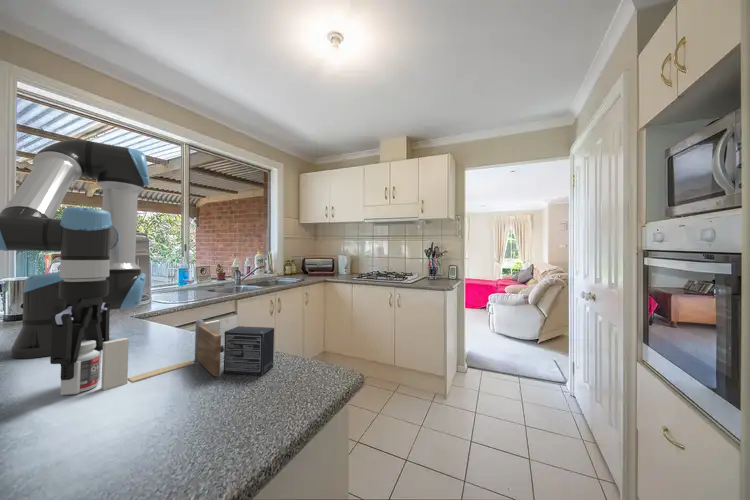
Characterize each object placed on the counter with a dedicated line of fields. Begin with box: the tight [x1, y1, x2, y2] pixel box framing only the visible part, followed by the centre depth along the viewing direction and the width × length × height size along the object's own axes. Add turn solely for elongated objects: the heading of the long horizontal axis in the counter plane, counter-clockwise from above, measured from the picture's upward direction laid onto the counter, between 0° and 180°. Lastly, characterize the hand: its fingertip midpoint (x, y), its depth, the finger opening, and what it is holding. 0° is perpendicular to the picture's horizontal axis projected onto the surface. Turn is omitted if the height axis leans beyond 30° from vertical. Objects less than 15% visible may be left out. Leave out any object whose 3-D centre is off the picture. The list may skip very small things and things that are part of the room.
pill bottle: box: [77, 340, 100, 393], centre depth 60 cm, size 5×5×10 cm
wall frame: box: [100, 319, 221, 391], centre depth 71 cm, size 3×25×11 cm, turn 149°
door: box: [198, 325, 224, 377], centre depth 72 cm, size 2×14×10 cm, turn 47°
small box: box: [223, 325, 275, 376], centre depth 72 cm, size 11×6×10 cm, turn 84°
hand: (81, 386), depth 60 cm, fingers closed on pill bottle, 5 cm apart
